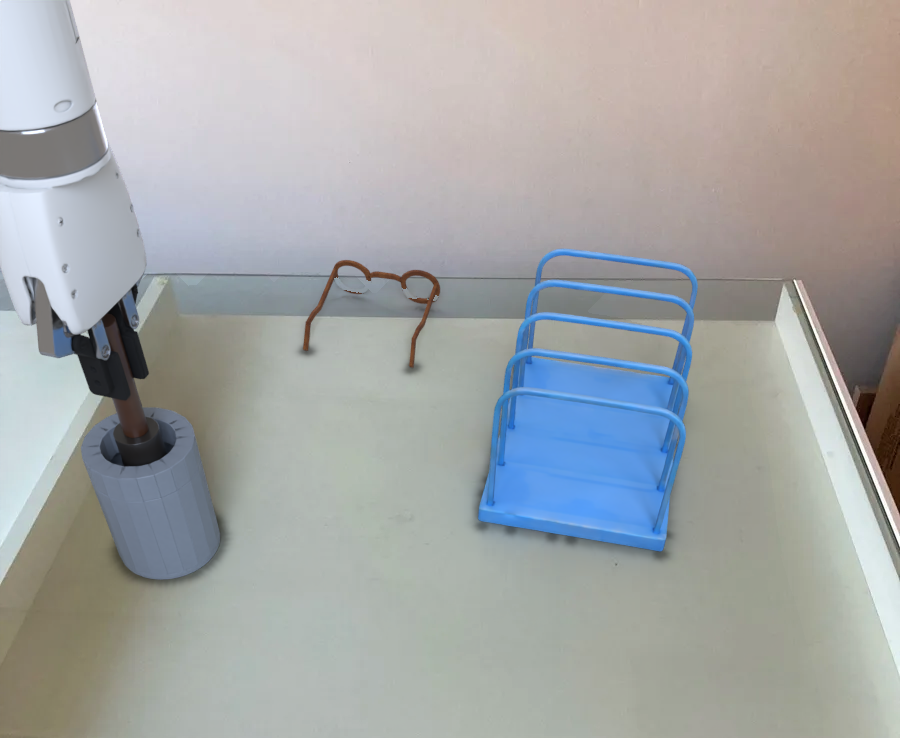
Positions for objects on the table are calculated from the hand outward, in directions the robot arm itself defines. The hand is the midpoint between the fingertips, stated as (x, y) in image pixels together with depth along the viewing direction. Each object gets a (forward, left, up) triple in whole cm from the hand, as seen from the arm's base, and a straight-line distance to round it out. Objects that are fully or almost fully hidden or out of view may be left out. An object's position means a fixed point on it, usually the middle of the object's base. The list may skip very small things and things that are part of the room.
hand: (120, 383), depth 70 cm
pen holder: (0, 0, -18) cm, 18 cm away
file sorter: (+34, +24, -18) cm, 45 cm away
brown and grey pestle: (0, 0, -8) cm, 8 cm away
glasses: (+6, +38, -18) cm, 42 cm away
